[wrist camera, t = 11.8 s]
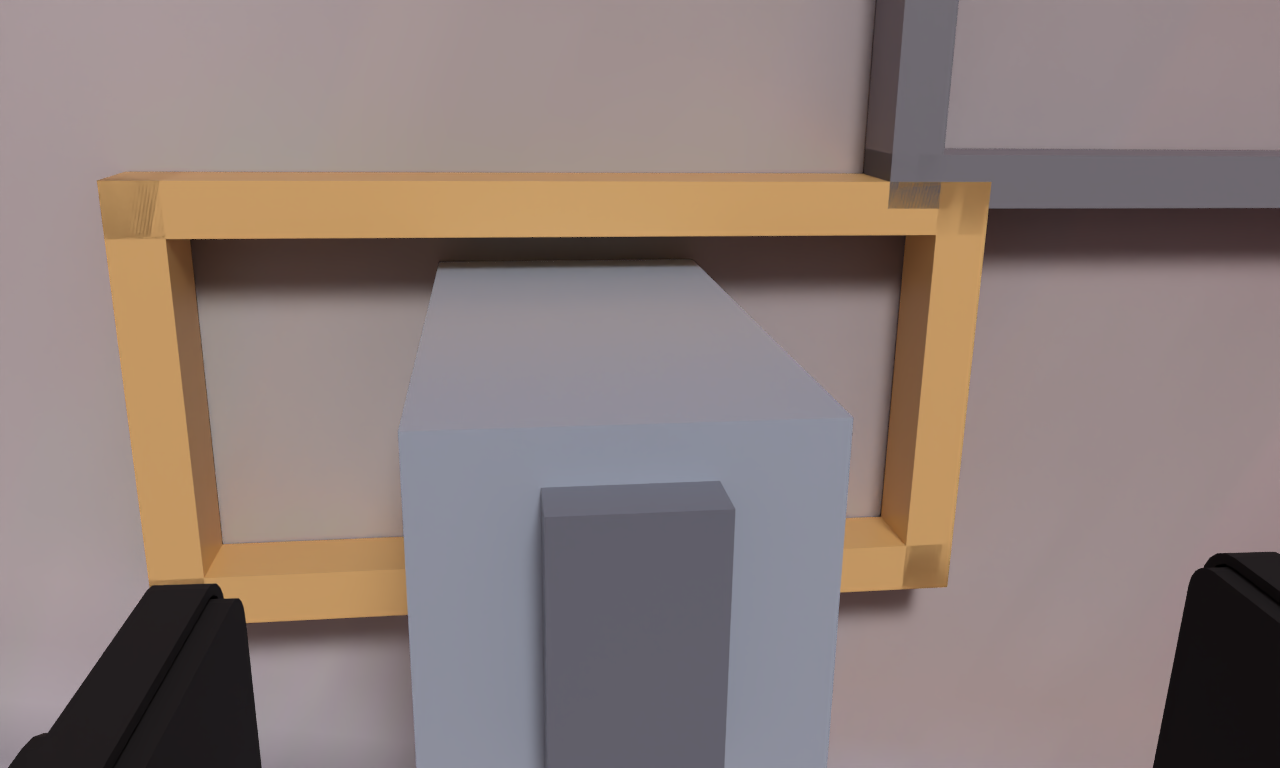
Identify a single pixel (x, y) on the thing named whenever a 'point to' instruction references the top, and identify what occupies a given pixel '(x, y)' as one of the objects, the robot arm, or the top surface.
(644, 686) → the plug
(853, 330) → the top surface
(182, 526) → the tan grey double frame
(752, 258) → the top surface
